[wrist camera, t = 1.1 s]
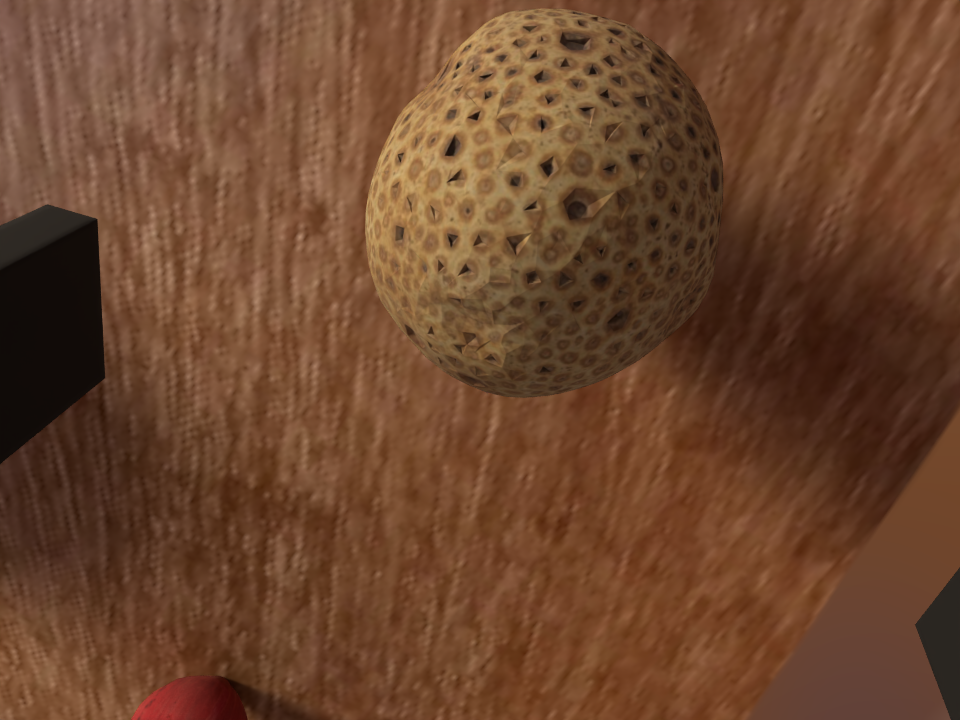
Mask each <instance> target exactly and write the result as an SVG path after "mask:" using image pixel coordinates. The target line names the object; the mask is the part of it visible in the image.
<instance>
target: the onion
mask: <svg viewBox="0 0 960 720" xmlns="http://www.w3.org/2000/svg"><path fill="white" fill-rule="evenodd" d="M131 720H247V716H246V712H245V709H244V706H243V704H242V702H241V699H240V697H239V695H238V694H237V692H236V691H235V689H234V688H233V687H232V686H231V685H230V683H229V681H228V680H227V679H225V678H224V677H221V676H189V677H184V678H179V679H176V680H175V681H173V682H171V683H169V684H167V685H165V686H164V687H162V688H160V689H158V690H156V691H155V692H153V693H152V694H151V695H150V696H149V697H148V698H146V699H145V700H144V701H143V702H142V703H141V704H140V705H139V707H138V709H137V710H136V712H135V714H134V715H133V717H132V719H131Z"/></svg>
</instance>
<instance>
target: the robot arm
mask: <svg viewBox="0 0 960 720" xmlns="http://www.w3.org/2000/svg"><path fill="white" fill-rule="evenodd" d="M104 378H105V366H104V346H103V325H102V305H101V284H100V264H99V243H98V223H97V219H96V218H92V217H89V216H85V215H82V214H78V213H75V212H72V211H68V210H65V209H61V208H58V207H55V206H51V205H48V204H47V205H45V206H43V207H41V208H38V209H36V210H34V211H32V212H30V213H27V214H25V215H23V216H21V217H19V218H16V219H14V220H12V221H10V222H8V223H5V224H3V225H1V226H0V464H1V463H2V462H3V461H4V460H6V459H7V458H8V457H9V456H11V455H12V454H13V453H14V452H15V451H17V450H18V449H19V448H20V447H21V446H23V445H24V444H25V443H26V442H28V441H29V440H30V439H31V438H32V437H34V436H35V435H36V434H37V433H39V432H40V431H41V430H42V429H43V428H45V427H46V426H47V425H48V424H50V423H51V422H52V421H53V420H54V419H56V418H57V417H58V416H59V415H60V414H62V413H63V412H64V411H65V410H67V409H68V408H69V407H70V406H71V405H73V404H74V403H75V402H76V401H78V400H79V399H80V398H81V397H82V396H84V395H85V394H86V393H87V392H89V391H90V390H91V389H92V388H93V387H95V386H96V385H97V384H98V383H99V382H101V381H102V380H103V379H104ZM915 625H916V628H917V631H918V633H919V636H920V639H921V641H922V644H923V647H924V649H925V652H926V655H927V657H928V660H929V663H930V665H931V668H932V671H933V673H934V676H935V679H936V681H937V684H938V686H939V689H940V692H941V694H942V697H943V700H944V702H945V705H946V708H947V710H948V713H949V716H950V718H951V720H960V568H959V569H958V571H957V572H956V573H955V574H954V576H953V577H952V578H951V579H950V581H949V582H948V583H947V585H946V586H945V587H944V589H943V590H942V591H941V592H940V594H939V595H938V596H937V597H936V599H935V600H934V601H933V603H932V604H931V605H930V606H929V608H928V609H927V611H925V613H924V614H923V615H922V617H921V618H920V619H919V620H918V622H917V623H916V624H915Z"/></svg>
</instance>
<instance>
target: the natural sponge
mask: <svg viewBox="0 0 960 720" xmlns="http://www.w3.org/2000/svg"><path fill="white" fill-rule="evenodd" d="M722 204H723V162H722V157H721V152H720V146H719V140H718V137H717V134H716V131H715V128H714V126H713V123H712V120H711V117H710V114H709V112H708V109H707V106H706V104H705V103H704V101H703V100H702V98H701V96H700V94H699V92H698V91H697V89H696V88H695V86H694V85H693V83H692V82H691V80H690V79H689V78H688V77H687V76H686V74H685V73H684V72H683V71H682V69H681V68H680V67H679V66H678V65H677V63H676V62H675V61H674V60H673V59H672V58H671V57H670V56H669V55H668V54H667V53H666V52H665V51H664V50H663V49H661V48H660V47H659V46H658V45H656V44H655V43H654V42H653V41H651V40H650V39H648V38H647V37H645V36H644V35H642V34H641V33H639V32H638V31H637V30H635V29H634V28H633V27H631V26H630V25H627V24H624V23H621V22H617V21H614V20H611V19H607V18H604V17H600V16H596V15H592V14H588V13H584V12H579V11H573V10H565V9H532V10H518V11H512V12H508V13H504V14H502V15H500V16H498V17H496V18H494V19H492V20H490V21H489V22H487V23H485V24H484V25H483V26H482V27H481V28H479V29H478V30H477V31H476V32H475V33H474V34H473V35H472V36H471V37H469V38H468V39H467V40H466V41H465V42H464V43H463V44H462V45H461V46H459V48H458V49H457V50H456V51H455V52H454V54H453V55H452V56H451V57H450V59H449V60H448V61H447V63H446V64H445V65H444V67H443V68H442V69H441V71H440V72H439V73H438V75H437V76H436V77H435V78H434V80H433V81H432V82H431V83H430V84H429V85H428V86H427V87H426V88H425V89H424V90H423V91H422V92H421V93H420V94H419V95H418V96H416V97H415V98H414V99H413V100H412V101H411V102H410V103H409V104H408V105H407V106H406V107H405V109H404V110H403V111H402V112H401V114H400V115H399V117H398V119H397V120H396V122H395V124H394V126H393V129H392V131H391V132H390V134H389V136H388V139H387V141H386V143H385V145H384V147H383V150H382V152H381V154H380V157H379V160H378V163H377V166H376V169H375V172H374V174H373V178H372V182H371V186H370V190H369V194H368V201H367V207H366V222H365V231H366V247H367V254H368V262H369V267H370V271H371V274H372V277H373V281H374V284H375V287H376V290H377V292H378V295H379V297H380V300H381V302H382V303H383V305H384V306H385V308H386V309H387V311H388V312H389V314H390V315H391V316H392V318H393V319H394V321H395V322H396V323H397V325H398V327H399V328H400V329H401V330H402V332H403V333H404V334H405V335H406V336H407V337H408V338H409V339H410V340H411V341H412V343H413V344H414V345H415V346H416V347H417V348H418V349H419V350H420V351H421V352H422V353H423V354H424V355H425V357H427V358H428V359H429V360H430V361H432V362H433V363H434V364H435V365H437V366H438V367H439V368H441V369H442V370H443V371H444V372H446V373H447V374H449V375H451V376H452V377H454V378H456V379H458V380H460V381H462V382H464V383H466V384H468V385H470V386H472V387H475V388H477V389H480V390H482V391H485V392H489V393H492V394H496V395H501V396H507V397H523V398H526V397H537V396H548V395H554V394H559V393H563V392H567V391H571V390H575V389H579V388H582V387H585V386H588V385H591V384H594V383H596V382H599V381H601V380H603V379H605V378H608V377H610V376H612V375H614V374H616V373H618V372H619V371H621V370H623V369H625V368H626V367H628V366H630V365H632V364H633V363H635V362H636V361H638V360H640V359H641V358H642V357H644V356H645V355H646V354H648V353H649V352H650V351H652V350H653V349H654V348H655V347H656V346H658V345H659V344H660V343H661V342H662V341H664V340H665V339H666V338H667V337H668V336H670V335H671V334H672V333H673V332H674V331H675V330H677V329H678V328H679V327H680V326H681V325H682V324H683V323H684V322H685V321H687V320H688V319H689V318H690V317H691V316H692V315H693V313H694V312H695V311H696V310H697V308H698V307H699V305H700V303H701V302H702V300H703V299H704V297H705V295H706V293H707V291H708V289H709V286H710V283H711V281H712V278H713V275H714V269H715V262H716V254H717V247H718V240H719V232H720V222H721V212H722Z"/></svg>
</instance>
